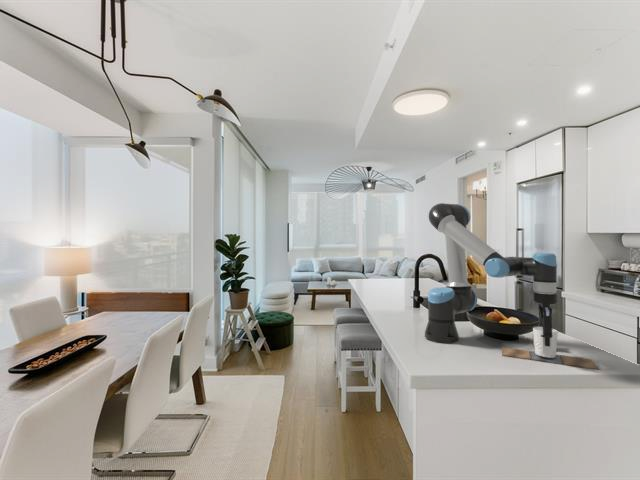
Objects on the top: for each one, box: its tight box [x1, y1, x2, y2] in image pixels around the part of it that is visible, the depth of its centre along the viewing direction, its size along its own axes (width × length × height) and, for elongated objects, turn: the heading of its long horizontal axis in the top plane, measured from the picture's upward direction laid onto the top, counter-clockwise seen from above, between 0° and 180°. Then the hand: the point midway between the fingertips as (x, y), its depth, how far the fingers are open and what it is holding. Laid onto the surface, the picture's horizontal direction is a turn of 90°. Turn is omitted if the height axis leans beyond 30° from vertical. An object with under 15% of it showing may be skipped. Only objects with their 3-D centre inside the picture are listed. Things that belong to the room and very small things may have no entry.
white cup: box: [532, 326, 559, 358], centre depth 124 cm, size 8×8×10 cm
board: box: [501, 346, 600, 371], centre depth 124 cm, size 30×10×1 cm, turn 62°
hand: (545, 350), depth 124 cm, fingers closed on white cup, 8 cm apart
